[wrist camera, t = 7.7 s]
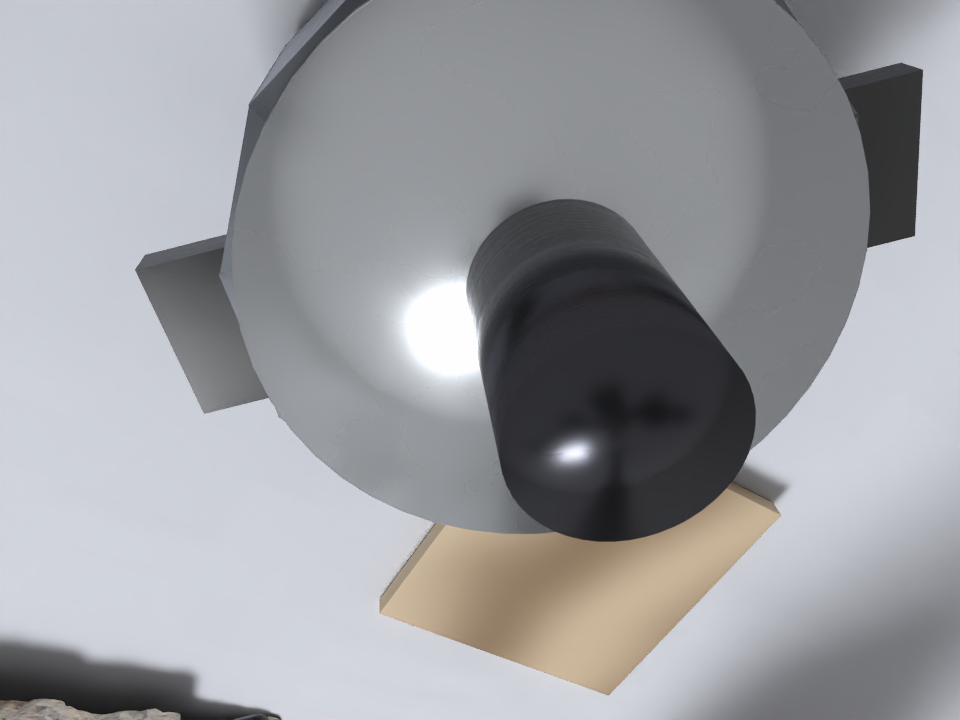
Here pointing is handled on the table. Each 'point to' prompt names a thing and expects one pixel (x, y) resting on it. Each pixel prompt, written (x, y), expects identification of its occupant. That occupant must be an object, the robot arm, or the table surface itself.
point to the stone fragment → (74, 712)
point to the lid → (550, 253)
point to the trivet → (573, 589)
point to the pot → (208, 264)
